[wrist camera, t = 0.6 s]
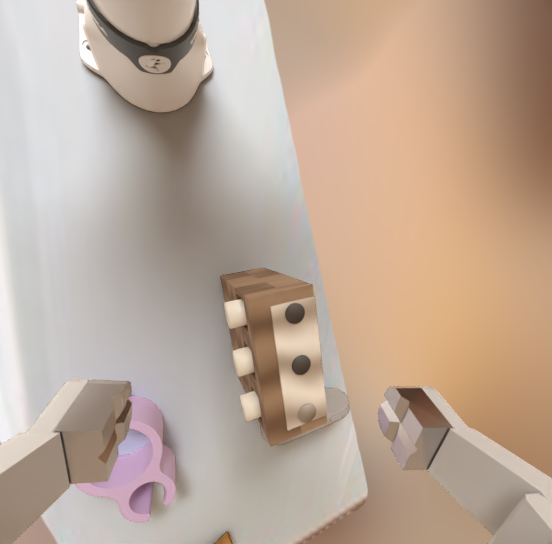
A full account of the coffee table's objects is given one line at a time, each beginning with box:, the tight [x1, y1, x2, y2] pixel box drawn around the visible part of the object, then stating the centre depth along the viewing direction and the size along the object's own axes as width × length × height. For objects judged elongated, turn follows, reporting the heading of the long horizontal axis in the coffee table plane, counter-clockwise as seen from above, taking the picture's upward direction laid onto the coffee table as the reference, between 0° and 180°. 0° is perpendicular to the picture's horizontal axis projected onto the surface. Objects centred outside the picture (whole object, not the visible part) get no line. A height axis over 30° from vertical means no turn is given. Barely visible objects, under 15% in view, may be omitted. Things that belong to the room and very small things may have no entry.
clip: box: [75, 396, 176, 522], centre depth 46 cm, size 20×12×7 cm, turn 24°
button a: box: [224, 299, 247, 329], centre depth 37 cm, size 4×4×4 cm
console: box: [221, 268, 327, 446], centre depth 44 cm, size 20×8×20 cm, turn 8°
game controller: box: [260, 388, 350, 445], centre depth 56 cm, size 20×2×8 cm, turn 99°
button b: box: [240, 391, 262, 422], centre depth 40 cm, size 4×4×4 cm
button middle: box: [232, 346, 255, 377], centre depth 38 cm, size 4×4×4 cm
